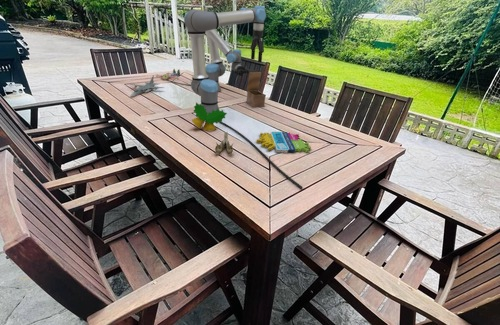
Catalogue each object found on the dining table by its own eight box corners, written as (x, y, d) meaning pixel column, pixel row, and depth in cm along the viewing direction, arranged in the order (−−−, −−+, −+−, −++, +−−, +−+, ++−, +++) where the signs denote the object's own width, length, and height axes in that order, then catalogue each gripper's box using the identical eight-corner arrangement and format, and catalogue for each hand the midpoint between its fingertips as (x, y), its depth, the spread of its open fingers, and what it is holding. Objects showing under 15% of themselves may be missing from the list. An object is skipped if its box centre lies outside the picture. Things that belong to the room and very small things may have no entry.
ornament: (218, 133, 171) (224, 110, 169) (221, 134, 163) (227, 111, 161) (186, 125, 162) (192, 101, 160) (189, 126, 155) (195, 101, 153)
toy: (188, 70, 290) (175, 74, 264) (188, 76, 294) (176, 81, 268) (165, 67, 295) (150, 71, 269) (166, 74, 299) (151, 78, 273)
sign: (313, 150, 142) (258, 149, 139) (312, 153, 143) (258, 152, 140) (301, 132, 164) (254, 130, 161) (301, 134, 165) (254, 133, 162)
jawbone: (234, 135, 144) (233, 125, 135) (233, 160, 138) (232, 151, 129) (217, 135, 144) (216, 125, 135) (216, 160, 138) (214, 150, 129)
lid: (261, 72, 209) (257, 68, 214) (250, 72, 205) (246, 68, 211) (258, 90, 218) (254, 85, 224) (247, 90, 214) (243, 85, 220)
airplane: (124, 87, 237) (122, 75, 232) (159, 84, 250) (158, 74, 245) (128, 99, 208) (126, 87, 203) (168, 96, 222) (167, 84, 217)
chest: (264, 106, 212) (265, 94, 208) (253, 107, 209) (253, 95, 204) (257, 101, 223) (258, 90, 219) (246, 102, 220) (247, 90, 215)
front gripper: (270, 31, 185) (267, 63, 195) (256, 29, 204) (254, 58, 215) (260, 31, 182) (258, 63, 192) (247, 28, 202) (245, 58, 212)
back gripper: (252, 73, 243) (262, 78, 226) (227, 74, 234) (235, 79, 217) (253, 65, 239) (262, 69, 222) (227, 65, 230) (235, 69, 213)
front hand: (256, 60), depth 203 cm, fingers open, 13 cm apart
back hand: (249, 74), depth 220 cm, fingers open, 13 cm apart
